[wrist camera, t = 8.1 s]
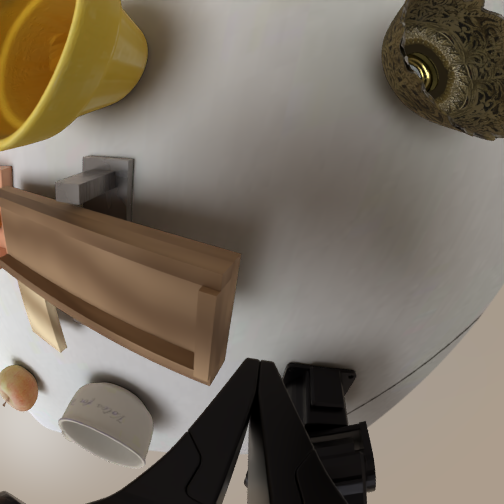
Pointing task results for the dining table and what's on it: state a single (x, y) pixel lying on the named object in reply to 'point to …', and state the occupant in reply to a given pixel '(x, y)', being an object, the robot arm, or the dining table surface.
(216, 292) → the lever
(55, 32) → the plant pot
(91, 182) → the seesaw stand
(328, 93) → the dining table surface
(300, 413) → the robot arm
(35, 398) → the fruit
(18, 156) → the dining table surface
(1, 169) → the peach open tray
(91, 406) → the teacup
